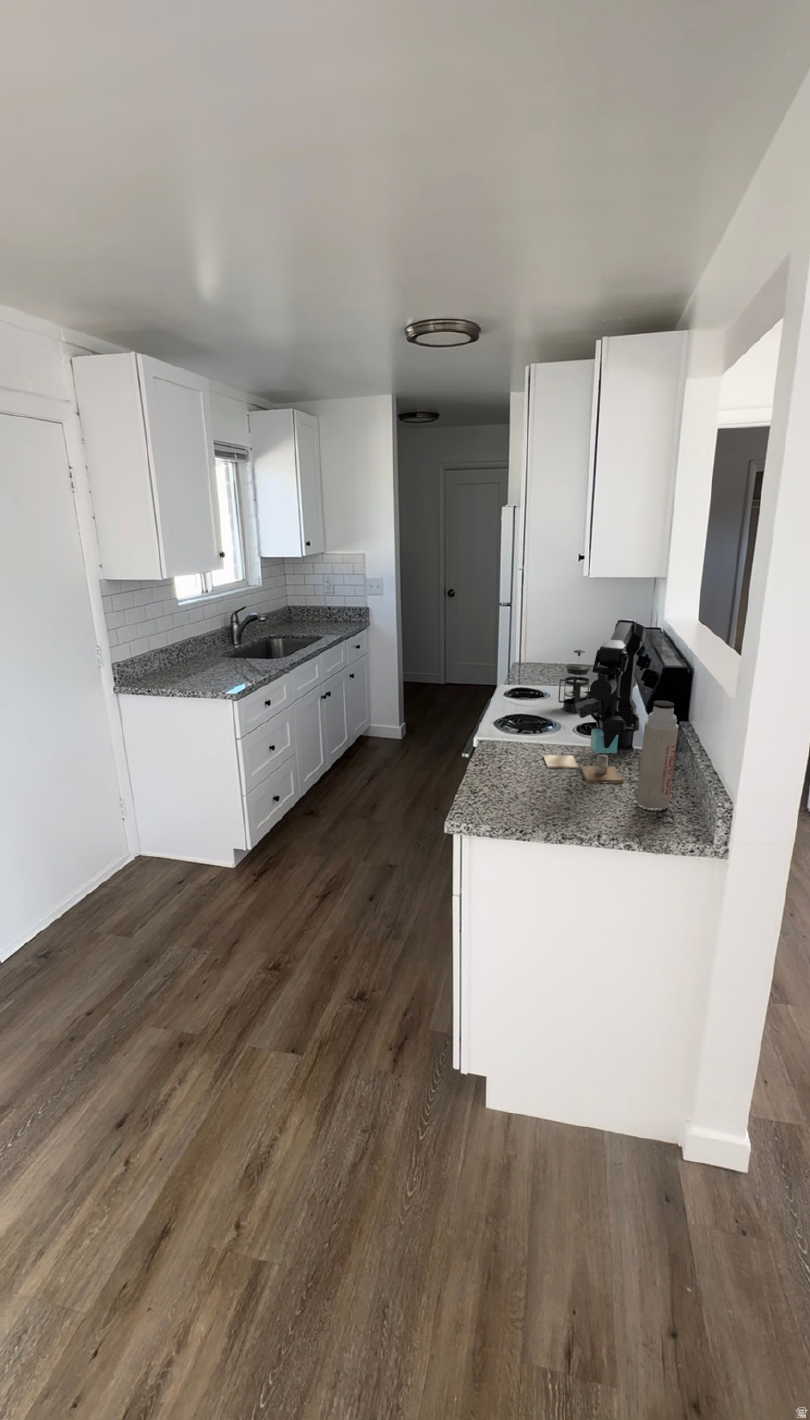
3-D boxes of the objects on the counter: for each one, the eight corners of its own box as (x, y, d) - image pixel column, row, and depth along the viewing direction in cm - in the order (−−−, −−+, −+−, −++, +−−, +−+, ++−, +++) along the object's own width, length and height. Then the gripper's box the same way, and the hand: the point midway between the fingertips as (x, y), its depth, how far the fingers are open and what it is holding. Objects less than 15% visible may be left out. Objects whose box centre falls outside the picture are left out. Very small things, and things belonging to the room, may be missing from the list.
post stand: (614, 769, 198) (616, 750, 196) (623, 783, 188) (625, 763, 186) (580, 769, 198) (581, 750, 196) (587, 782, 189) (588, 762, 187)
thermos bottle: (675, 807, 173) (688, 704, 164) (653, 814, 169) (665, 709, 161) (651, 796, 180) (663, 696, 171) (629, 802, 176) (640, 700, 168)
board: (572, 757, 207) (572, 755, 207) (578, 768, 199) (578, 766, 198) (543, 756, 208) (543, 755, 207) (547, 767, 199) (547, 766, 199)
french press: (588, 706, 257) (592, 648, 251) (591, 714, 249) (596, 653, 242) (556, 705, 259) (560, 647, 252) (558, 713, 250) (562, 652, 243)
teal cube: (611, 745, 193) (612, 729, 192) (616, 752, 187) (618, 736, 186) (590, 745, 194) (591, 728, 192) (594, 752, 188) (596, 735, 186)
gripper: (572, 682, 195) (569, 732, 199) (585, 700, 177) (581, 755, 182) (611, 682, 194) (607, 733, 199) (628, 700, 176) (623, 756, 181)
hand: (603, 743), depth 190 cm, fingers closed on teal cube, 6 cm apart
